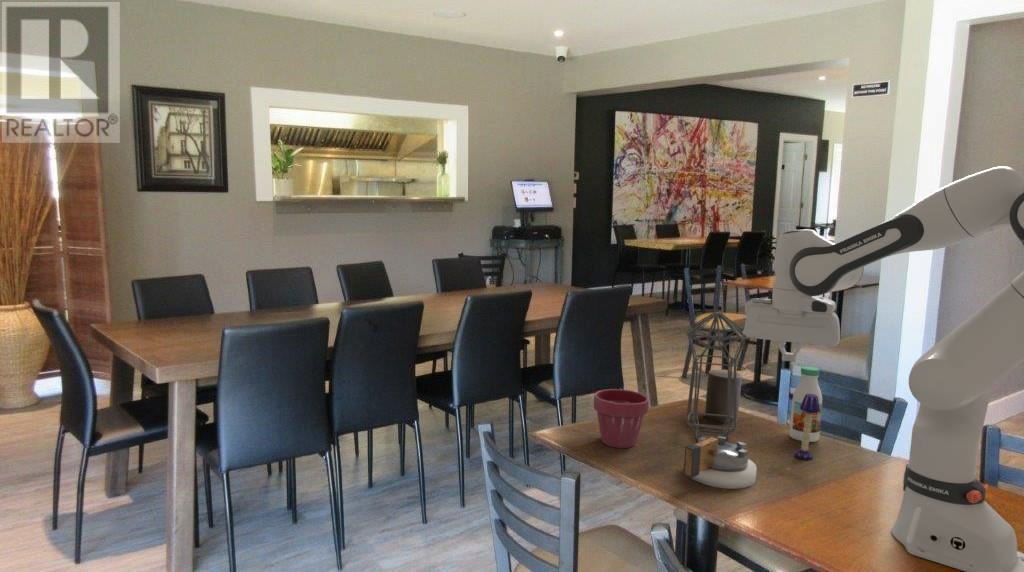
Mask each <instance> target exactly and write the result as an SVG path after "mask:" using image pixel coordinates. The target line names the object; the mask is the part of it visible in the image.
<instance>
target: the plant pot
mask: <svg viewBox="0 0 1024 572" xmlns="http://www.w3.org/2000/svg"><path fill="white" fill-rule="evenodd" d="M593 409H594V410H595V412H596V414H597V421H598V428H599V432H600V438H601V439H600V440H601V443H603V444H604V445H606V446H609V447H612V448H618V449H627V448H632V447H634V446H635V445H636V444H637V440H638V437H639V434H640V431H641V427H642V423H643V419H644V417H645V416H646V415H647V413H648V411H649V410H648V409H649V398H648V396H647V395H645V394H643V393H640V392H638V391H633V390H630V389H620V388H610V389H601V390H597V391H596V392H595V393H594V396H593Z"/></svg>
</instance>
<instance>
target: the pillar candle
mask: <svg viewBox="0 0 1024 572" xmlns="http://www.w3.org/2000/svg"><path fill="white" fill-rule="evenodd" d="M742 377H743V375H742V374H741V373H739V372H737V371H736V387H737V421H738V420H739V411H740V409H739V408H740V399H741V388H742V379H743V378H742ZM727 409H728V369H726V368H724V369H720V368H719V369H710V370H709V371H708V375H707V387H706V397H705V411H704V413H707V414H718V415H727ZM704 416H705V417H706V418H707V419H709V420H711V421H713V420H714V422H720V423H725V421H726V419H727V417H719V416H708V415H704ZM730 416H732V417H734V370H732V380H731V397H730ZM733 421H734V419H731V418H730V423H731V422H733Z"/></svg>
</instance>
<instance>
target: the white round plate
mask: <svg viewBox="0 0 1024 572" xmlns="http://www.w3.org/2000/svg"><path fill="white" fill-rule="evenodd" d="M757 467H758V466H757V465H756V464H755V462H753V461H752V460H751V459H750V458H748V467H747V468H746V469H745V470H742V471H737V472H724V471H717V470H713V469H709V468H707V469H705V470H703V471H700V472H699V475H697V476H695V477H693V478H691V479H692V480H694V481H696V482H698V483H700V484H703V485H706V486H709V487H713V488H719V489H727V490H728V489H731V490H734V489H735V490H738V489H745V488H749V487H751V486H753V485H754V484H755V483H756V479H757Z"/></svg>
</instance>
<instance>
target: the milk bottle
mask: <svg viewBox="0 0 1024 572" xmlns="http://www.w3.org/2000/svg"><path fill="white" fill-rule="evenodd" d="M800 368H801V369H800V377H801V378H800V379H799V383H798V384H797V385H796V388H795V389H794V391H793V395H792V400H791V401H792V402H791V411H790V422H789V437H790V438H792V439H794V440H796V441H799V442H802V439H803V437H802V436H803V433H804V432H803V429H804V422H805V416H806V414H805V411H803V410H801V409H800V406H801V403H802V401H803V398H804V396H805V395H806V394H814V395H817V396H818V401H819V408H820V411H819V412H818V413H813V415H812V422H811V428H810V429H811V432H810V438H809V443H815V442H818V441H819V440H820V434H821V433H820V432H821V423H822V411H823V395H822V391H821V388H820V385H819V381H818V378H819V374H820V369H819V368H817V367H814V366H802V367H800Z"/></svg>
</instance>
